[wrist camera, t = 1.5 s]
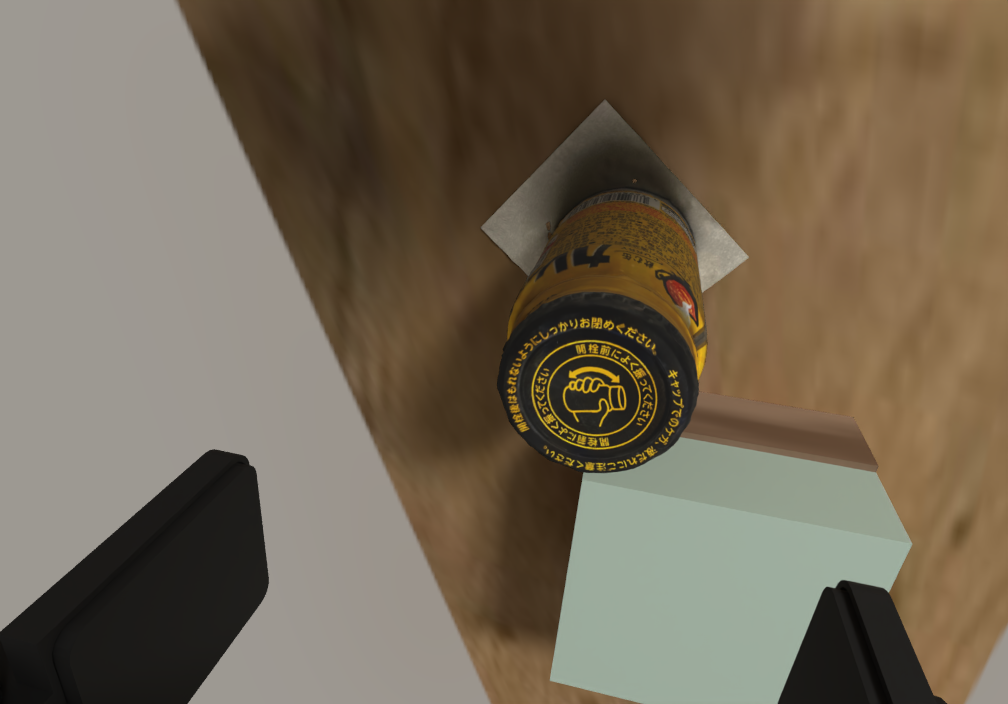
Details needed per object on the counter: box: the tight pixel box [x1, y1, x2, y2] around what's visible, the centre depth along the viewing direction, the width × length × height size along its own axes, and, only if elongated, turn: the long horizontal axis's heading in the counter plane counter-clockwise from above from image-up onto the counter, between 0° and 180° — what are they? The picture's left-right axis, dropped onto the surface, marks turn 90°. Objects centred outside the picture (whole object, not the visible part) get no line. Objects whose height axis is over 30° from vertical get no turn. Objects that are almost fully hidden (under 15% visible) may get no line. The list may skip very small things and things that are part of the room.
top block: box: [550, 437, 912, 704], centre depth 26 cm, size 11×11×4 cm
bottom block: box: [680, 391, 878, 472], centre depth 29 cm, size 11×11×4 cm
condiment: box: [481, 100, 749, 473], centre depth 21 cm, size 7×8×12 cm
